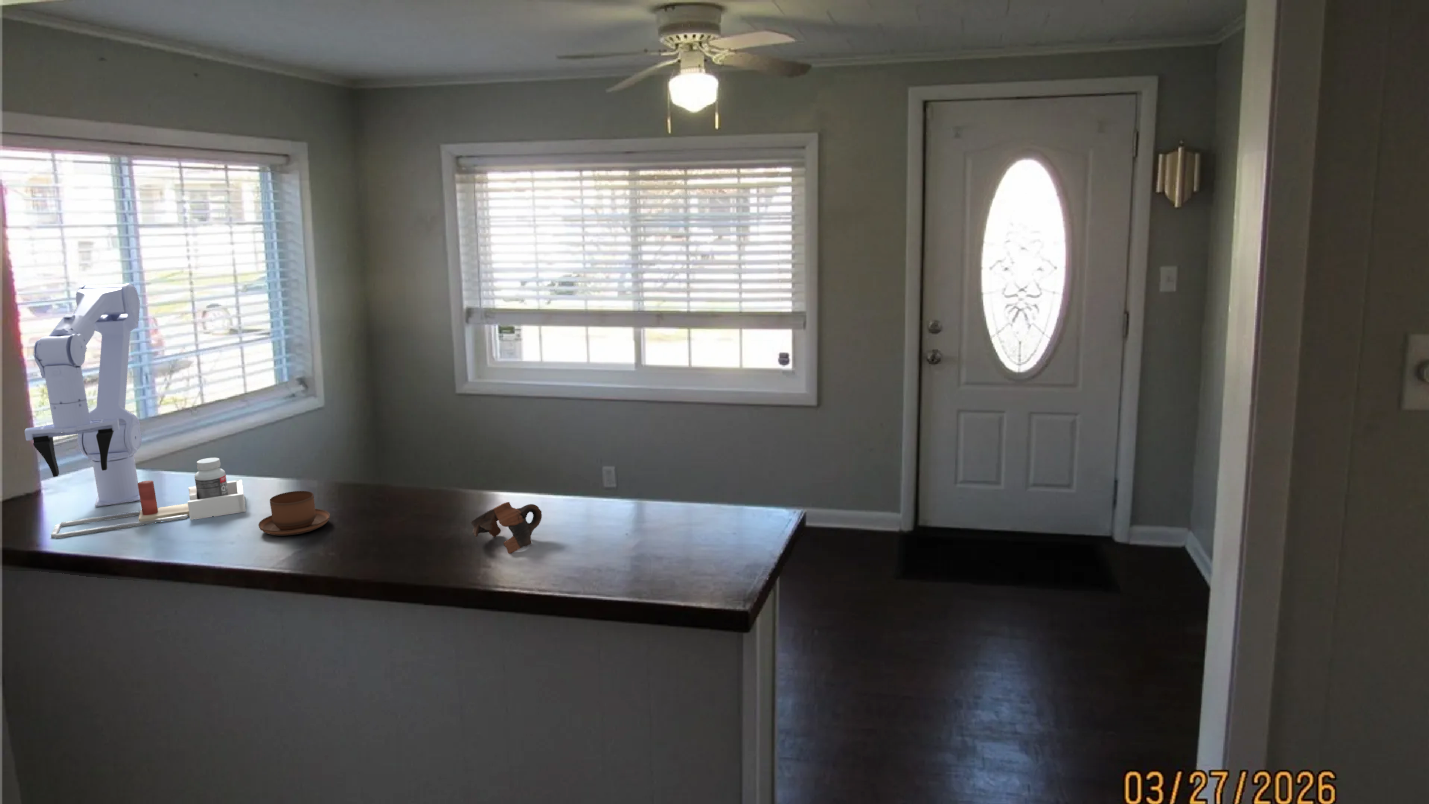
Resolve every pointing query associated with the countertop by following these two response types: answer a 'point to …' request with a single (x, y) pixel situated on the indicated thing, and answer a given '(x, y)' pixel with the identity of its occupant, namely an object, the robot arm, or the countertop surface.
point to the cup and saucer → (293, 514)
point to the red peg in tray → (150, 503)
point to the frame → (219, 503)
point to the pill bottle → (210, 479)
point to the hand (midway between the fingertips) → (80, 472)
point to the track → (106, 528)
